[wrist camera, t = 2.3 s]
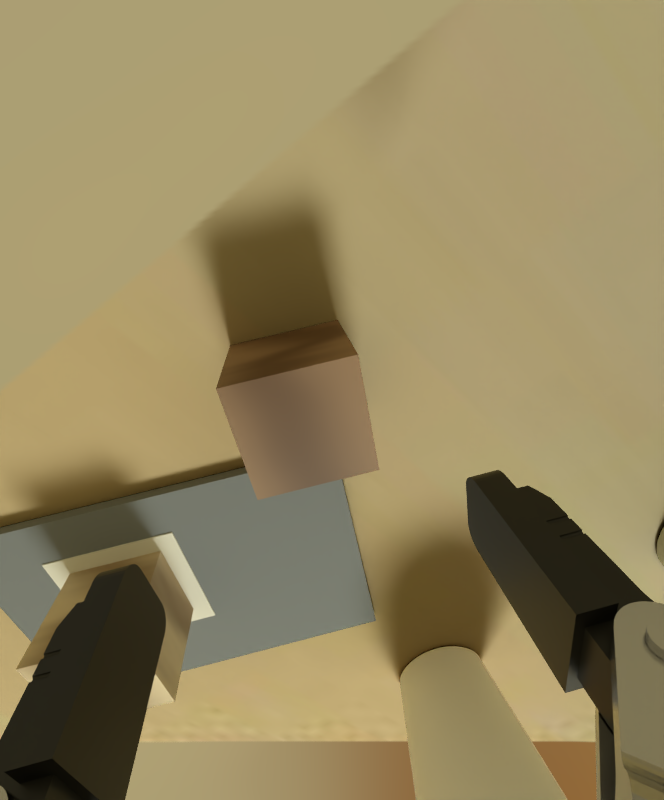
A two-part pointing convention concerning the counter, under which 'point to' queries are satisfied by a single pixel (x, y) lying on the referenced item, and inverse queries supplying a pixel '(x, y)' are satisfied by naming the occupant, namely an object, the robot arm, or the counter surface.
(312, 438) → the walnut block
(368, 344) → the counter surface
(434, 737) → the cup
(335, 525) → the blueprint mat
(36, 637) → the maple block
